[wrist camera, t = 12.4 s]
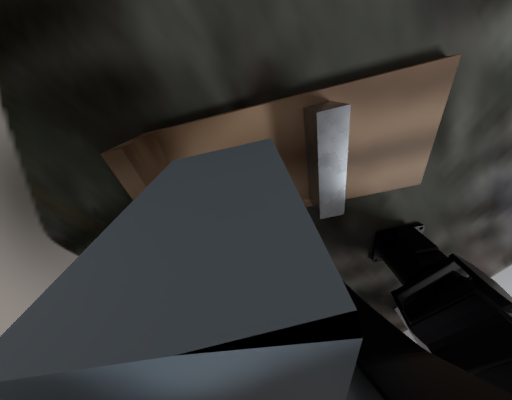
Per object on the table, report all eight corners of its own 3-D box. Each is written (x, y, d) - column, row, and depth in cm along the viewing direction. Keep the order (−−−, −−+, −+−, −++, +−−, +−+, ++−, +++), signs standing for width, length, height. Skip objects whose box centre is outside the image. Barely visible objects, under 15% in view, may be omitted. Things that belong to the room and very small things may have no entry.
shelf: (412, 179, 22) (465, 208, 17) (193, 225, 24) (178, 264, 19) (447, 56, 15) (551, 40, 10) (143, 133, 17) (100, 153, 12)
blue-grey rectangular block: (291, 267, 14) (335, 437, 7) (229, 278, 14) (214, 450, 8) (271, 138, 9) (366, 327, 2) (172, 160, 9) (-50, 388, 2)
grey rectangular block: (330, 196, 21) (344, 214, 18) (309, 200, 21) (320, 219, 18) (330, 100, 16) (350, 104, 13) (303, 107, 16) (316, 112, 13)
